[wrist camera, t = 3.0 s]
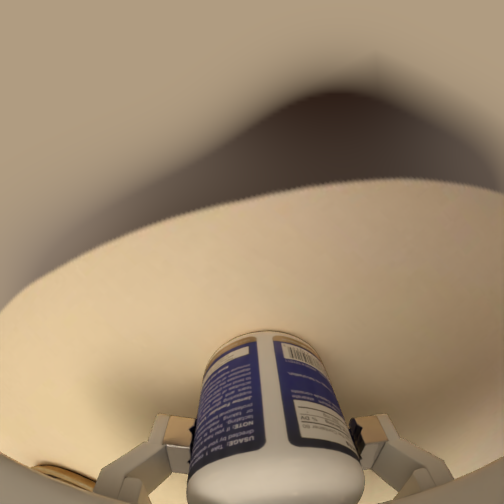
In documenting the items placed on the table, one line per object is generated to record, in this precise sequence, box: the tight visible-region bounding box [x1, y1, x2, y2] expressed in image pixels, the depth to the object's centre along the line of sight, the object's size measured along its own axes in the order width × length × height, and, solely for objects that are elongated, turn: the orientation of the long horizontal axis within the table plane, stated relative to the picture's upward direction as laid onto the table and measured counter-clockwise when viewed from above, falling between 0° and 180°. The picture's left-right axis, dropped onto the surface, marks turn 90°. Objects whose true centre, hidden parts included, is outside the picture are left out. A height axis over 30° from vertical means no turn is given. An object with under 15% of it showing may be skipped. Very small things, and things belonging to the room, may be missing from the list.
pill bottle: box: [186, 331, 365, 504], centre depth 9 cm, size 6×6×10 cm
